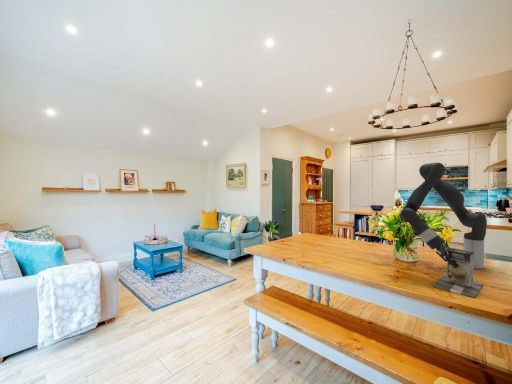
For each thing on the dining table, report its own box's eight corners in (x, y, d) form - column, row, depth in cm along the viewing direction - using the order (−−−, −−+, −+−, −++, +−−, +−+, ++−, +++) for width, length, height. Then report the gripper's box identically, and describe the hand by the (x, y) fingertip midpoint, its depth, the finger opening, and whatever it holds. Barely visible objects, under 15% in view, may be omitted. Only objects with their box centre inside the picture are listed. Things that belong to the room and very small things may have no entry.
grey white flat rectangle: (443, 276, 131) (443, 274, 131) (482, 285, 119) (482, 283, 119) (432, 286, 119) (432, 284, 119) (475, 298, 106) (475, 296, 106)
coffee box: (446, 280, 120) (446, 249, 120) (451, 277, 124) (451, 247, 123) (469, 287, 113) (469, 254, 112) (474, 283, 116) (474, 252, 115)
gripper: (433, 236, 120) (463, 265, 112) (441, 232, 129) (469, 258, 121) (421, 244, 125) (448, 273, 116) (429, 240, 134) (455, 266, 125)
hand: (459, 265), depth 118 cm, fingers closed on coffee box, 6 cm apart
